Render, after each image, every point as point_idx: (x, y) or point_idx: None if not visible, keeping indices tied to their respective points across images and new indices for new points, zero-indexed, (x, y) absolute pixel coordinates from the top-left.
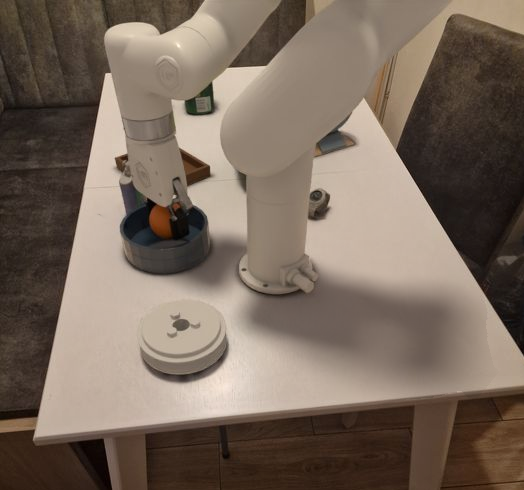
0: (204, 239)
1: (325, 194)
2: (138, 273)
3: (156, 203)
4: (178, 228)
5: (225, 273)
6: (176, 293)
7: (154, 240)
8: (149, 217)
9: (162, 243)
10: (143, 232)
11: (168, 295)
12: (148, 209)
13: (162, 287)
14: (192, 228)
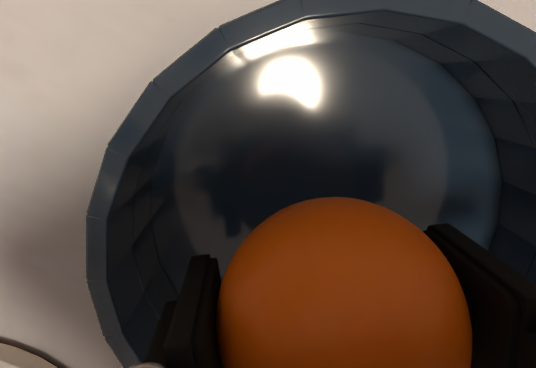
0: None
1: None
2: (229, 14)
3: (496, 354)
4: (157, 333)
5: (50, 309)
6: (8, 97)
7: (385, 186)
8: (405, 236)
9: None
10: (474, 172)
11: (9, 59)
12: (492, 274)
13: (76, 63)
14: None
